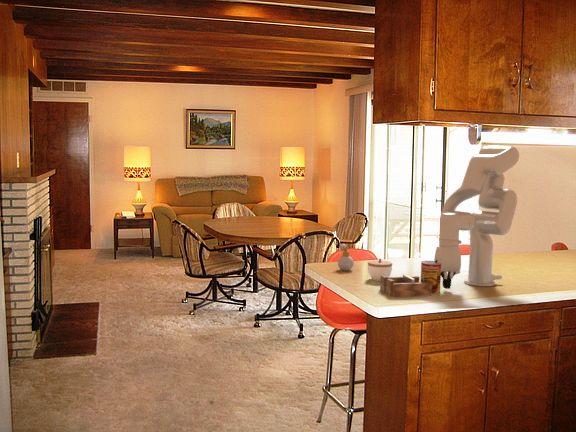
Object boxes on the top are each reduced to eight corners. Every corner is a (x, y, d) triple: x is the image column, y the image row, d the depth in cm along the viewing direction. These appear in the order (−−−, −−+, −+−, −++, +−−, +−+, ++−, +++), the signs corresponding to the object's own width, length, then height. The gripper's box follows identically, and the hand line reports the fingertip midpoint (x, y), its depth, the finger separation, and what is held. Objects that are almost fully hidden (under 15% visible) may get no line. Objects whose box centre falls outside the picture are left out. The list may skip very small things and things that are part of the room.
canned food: (418, 292, 247) (419, 263, 246) (422, 288, 255) (423, 260, 253) (438, 294, 244) (439, 264, 243) (441, 290, 252) (442, 261, 250)
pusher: (404, 288, 252) (405, 274, 251) (414, 294, 243) (414, 279, 242) (382, 289, 250) (382, 275, 249) (390, 294, 241) (391, 279, 240)
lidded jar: (362, 278, 274) (363, 257, 273) (383, 276, 278) (384, 256, 277) (375, 283, 264) (376, 261, 263) (396, 281, 268) (397, 260, 267)
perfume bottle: (344, 272, 287) (345, 246, 285) (331, 268, 294) (331, 244, 293) (356, 270, 291) (357, 245, 290) (343, 267, 299) (343, 242, 298)
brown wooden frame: (417, 288, 255) (418, 273, 255) (431, 295, 242) (432, 280, 242) (379, 289, 252) (379, 274, 251) (391, 296, 239) (391, 281, 238)
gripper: (461, 241, 254) (459, 285, 256) (427, 242, 251) (425, 286, 253) (470, 244, 247) (467, 289, 249) (435, 245, 244) (433, 290, 245)
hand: (446, 287), depth 251 cm, fingers closed
